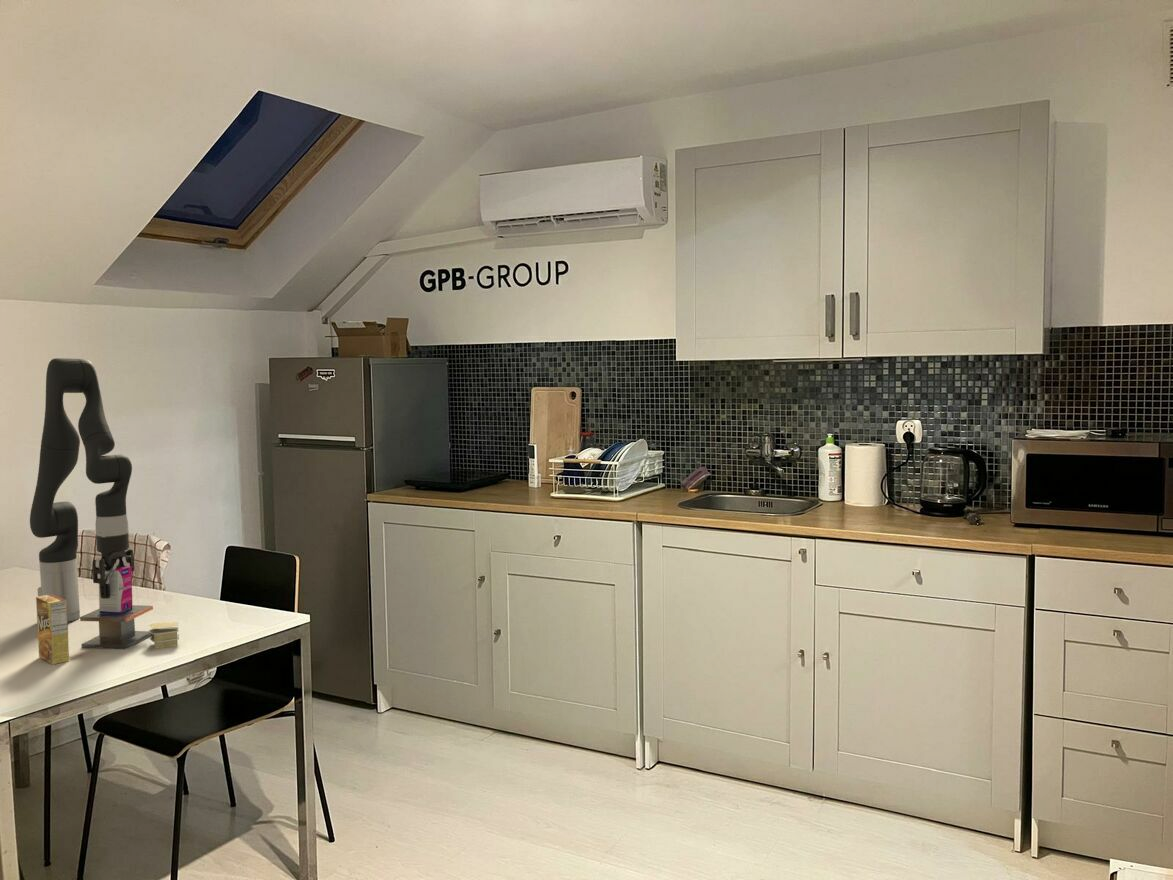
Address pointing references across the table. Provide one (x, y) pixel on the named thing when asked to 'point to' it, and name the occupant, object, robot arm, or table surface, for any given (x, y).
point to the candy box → (52, 629)
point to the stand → (117, 628)
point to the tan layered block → (164, 634)
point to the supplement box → (118, 592)
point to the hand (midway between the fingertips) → (115, 593)
